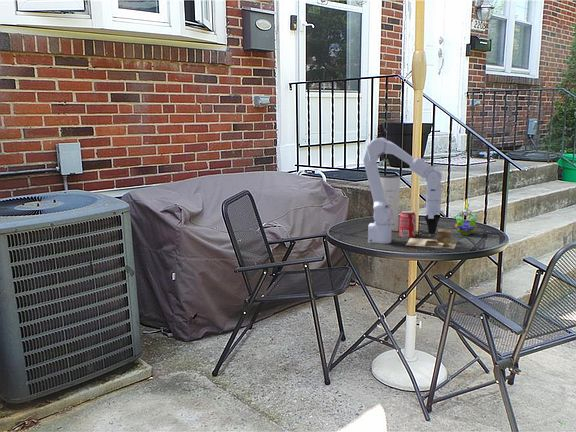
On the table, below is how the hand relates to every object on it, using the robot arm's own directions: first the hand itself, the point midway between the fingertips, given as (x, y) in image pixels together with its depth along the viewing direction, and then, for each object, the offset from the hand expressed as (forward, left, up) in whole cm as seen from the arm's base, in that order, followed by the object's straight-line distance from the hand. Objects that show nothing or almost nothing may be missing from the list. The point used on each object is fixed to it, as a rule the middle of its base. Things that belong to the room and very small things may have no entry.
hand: (432, 233), depth 209 cm
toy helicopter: (+11, +27, -6) cm, 30 cm away
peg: (0, 0, -1) cm, 1 cm away
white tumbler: (-23, +26, -6) cm, 35 cm away
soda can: (-12, +14, -6) cm, 19 cm away
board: (-1, +3, -6) cm, 7 cm away
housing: (+4, +8, -5) cm, 10 cm away
